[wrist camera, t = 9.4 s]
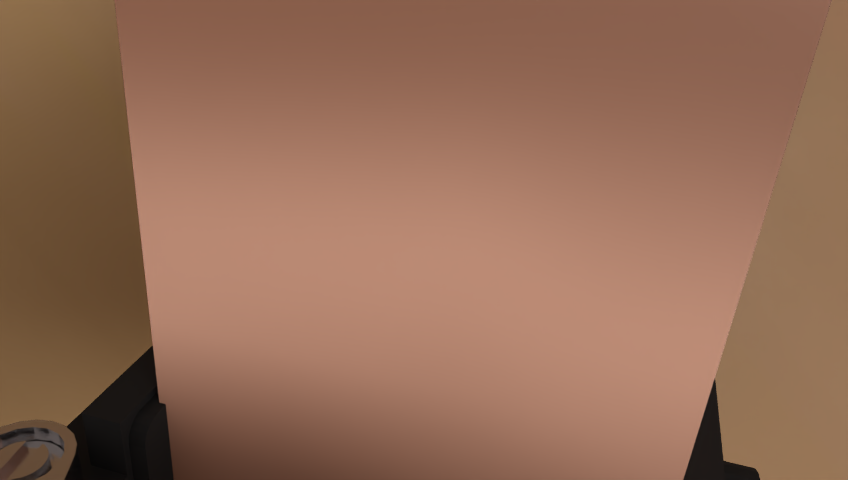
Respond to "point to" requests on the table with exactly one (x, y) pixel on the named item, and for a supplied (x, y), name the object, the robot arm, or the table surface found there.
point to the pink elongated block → (451, 226)
